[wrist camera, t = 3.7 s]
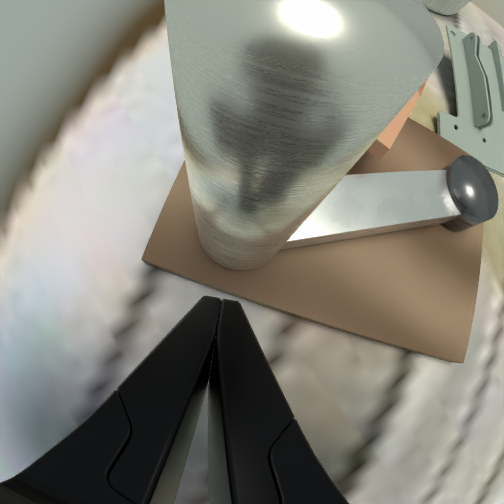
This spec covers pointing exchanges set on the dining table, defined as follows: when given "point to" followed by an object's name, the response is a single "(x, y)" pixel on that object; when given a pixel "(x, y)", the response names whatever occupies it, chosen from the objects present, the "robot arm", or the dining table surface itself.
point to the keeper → (393, 128)
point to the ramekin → (444, 6)
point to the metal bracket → (476, 100)
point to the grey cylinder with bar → (306, 123)
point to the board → (352, 265)
